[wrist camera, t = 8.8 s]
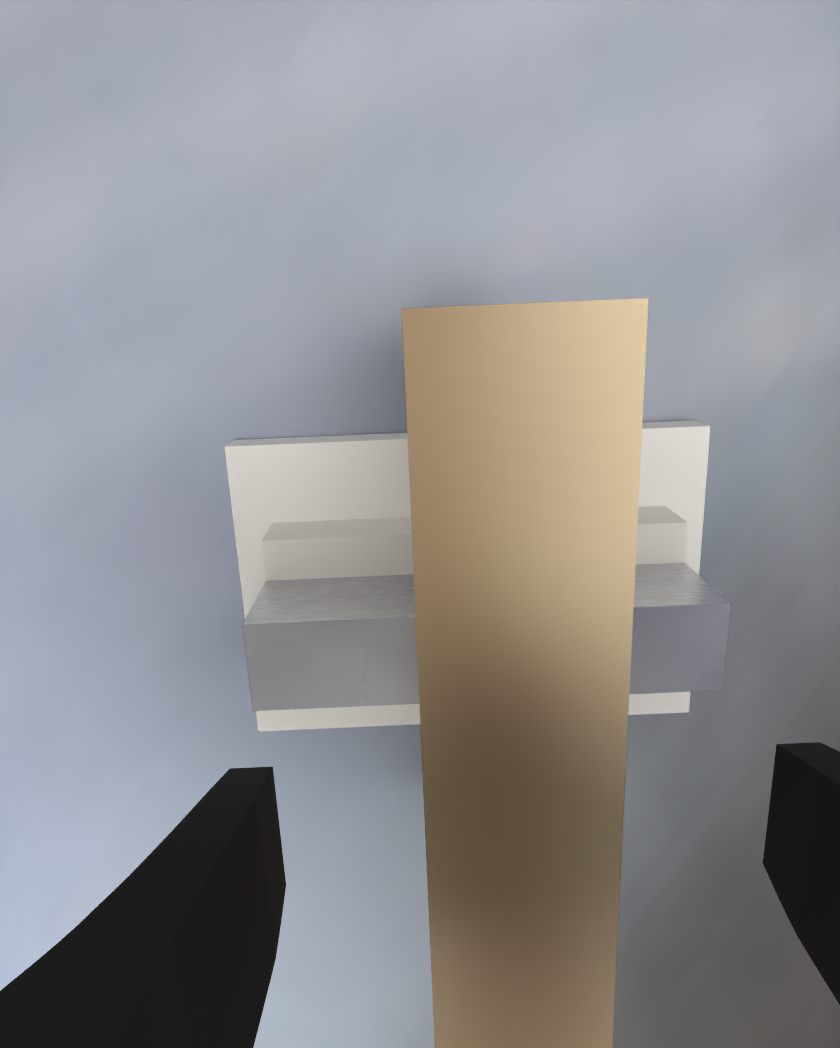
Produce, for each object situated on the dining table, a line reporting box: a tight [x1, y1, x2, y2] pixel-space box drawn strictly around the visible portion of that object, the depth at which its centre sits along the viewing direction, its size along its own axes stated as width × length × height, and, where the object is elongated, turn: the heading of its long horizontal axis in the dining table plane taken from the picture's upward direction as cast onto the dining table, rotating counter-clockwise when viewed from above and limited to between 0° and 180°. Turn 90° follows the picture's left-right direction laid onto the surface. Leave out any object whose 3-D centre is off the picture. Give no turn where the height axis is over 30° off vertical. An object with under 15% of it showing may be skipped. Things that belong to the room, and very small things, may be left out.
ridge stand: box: [225, 420, 731, 732], centre depth 17 cm, size 12×8×5 cm, turn 92°
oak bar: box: [402, 298, 648, 1048], centre depth 12 cm, size 3×14×5 cm, turn 2°
